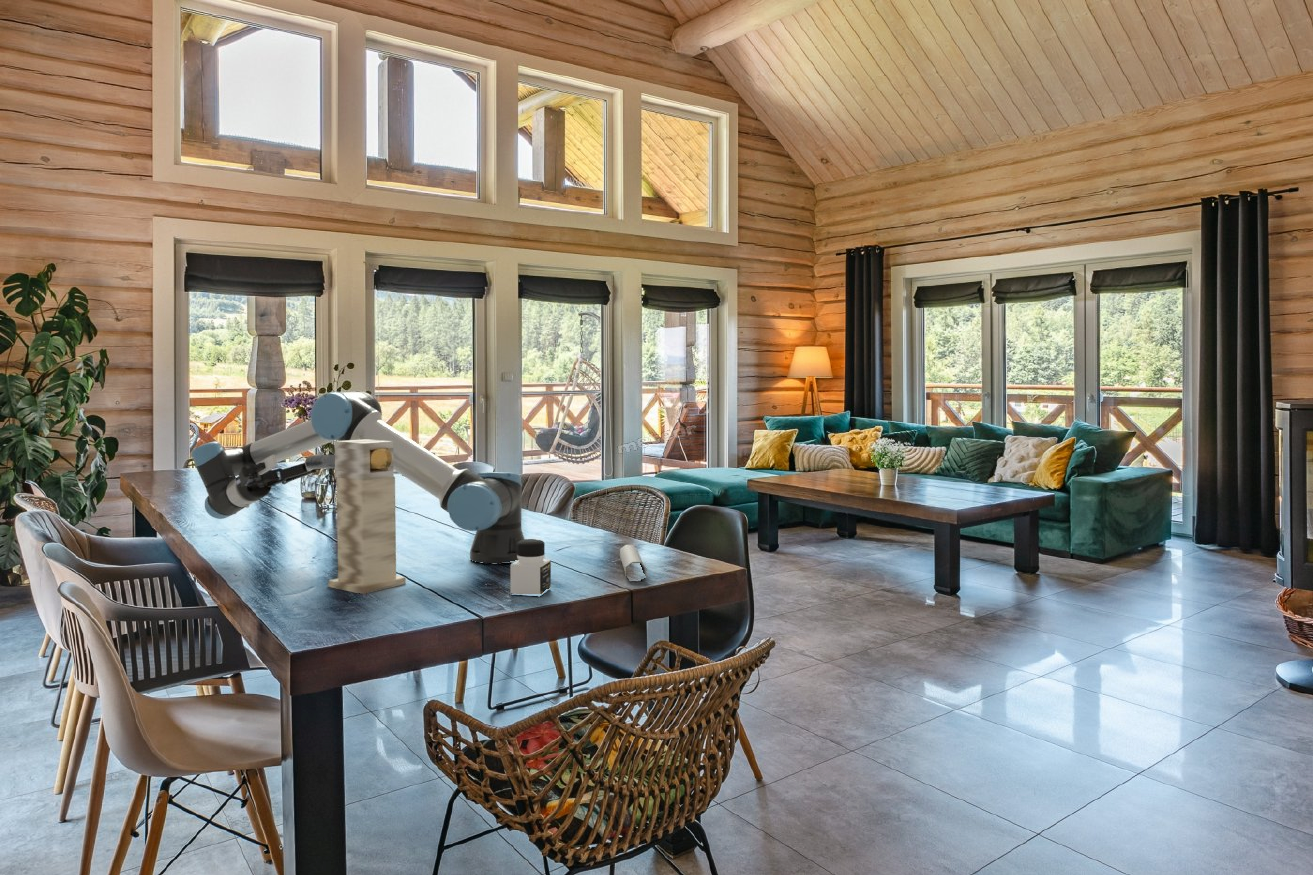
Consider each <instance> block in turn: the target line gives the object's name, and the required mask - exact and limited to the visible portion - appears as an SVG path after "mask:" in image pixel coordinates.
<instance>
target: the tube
mask: <svg viewBox="0 0 1313 875" xmlns="http://www.w3.org/2000/svg"><path fill="white" fill-rule="evenodd" d="M619 558H620V561H621V564H622V567H623V570H624V576H625V577H626V576H627V575H626V574H627V573H626V568H627V567H628V566H629V565H631V564H632V563H640V565H641V567H642V570H643V573H644V574H645V576H646V577H647V575H648V574H647V573H648V572H647V567H646V565H645V564H644V562H643V560H642V557H641V555H640V553H639V551H638V549H637V548H636V547H635V545H634V544H625V545H623V546H622V547H621V548H619Z"/></svg>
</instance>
